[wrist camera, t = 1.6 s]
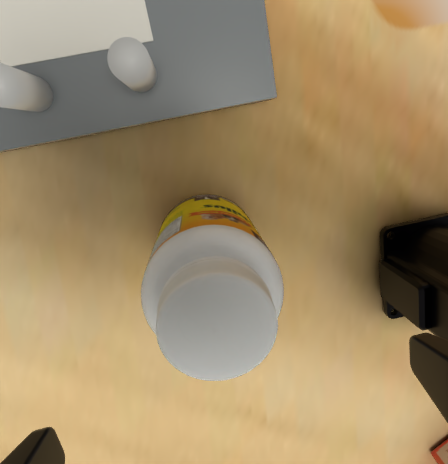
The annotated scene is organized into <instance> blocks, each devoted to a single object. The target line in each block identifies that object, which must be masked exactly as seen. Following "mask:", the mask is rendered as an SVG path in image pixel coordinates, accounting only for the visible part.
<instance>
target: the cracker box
mask: <svg viewBox="0 0 448 464" xmlns="http://www.w3.org/2000/svg"><path fill="white" fill-rule="evenodd" d="M431 454H432V456H433V457H434V459H435V460H436V461H437V463H438V464H448V439H447V440H446V441H444V442H443V443H442V444H440V445H439V446H438V447H437V448H435V449H434V450H433V451H432V452H431Z"/></svg>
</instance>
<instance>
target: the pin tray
mask: <svg viewBox="0 0 448 464" xmlns="http://www.w3.org/2000/svg"><path fill="white" fill-rule="evenodd" d="M276 97H277V93H276V86H275V78H274V71H273V63H272V55H271V48H270V40H269V33H268V25H267V18H266V10H265V2H264V0H0V152H5V151H10V150H15V149H20V148H25V147H30V146H35V145H41V144H46V143H51V142H56V141H61V140H66V139H71V138H76V137H82V136H87V135H92V134H97V133H102V132H107V131H112V130H117V129H123V128H128V127H133V126H138V125H143V124H148V123H153V122H158V121H164V120H169V119H174V118H179V117H184V116H189V115H194V114H199V113H205V112H210V111H215V110H220V109H225V108H230V107H235V106H240V105H246V104H251V103H256V102H261V101H266V100H271V99H273V98H276Z"/></svg>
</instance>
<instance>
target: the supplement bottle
mask: <svg viewBox="0 0 448 464" xmlns="http://www.w3.org/2000/svg"><path fill="white" fill-rule="evenodd" d="M283 296H284V287H283V279H282V275H281V272H280V269H279V266H278V264H277V262H276V260H275V258H274V257H273V255H272V253H271V252H270V250H269V249H268V247H267V246H266V244H265V243H264V241H263V240H262V238H261V236H260V235H259V233H258V232H257V230H256V229H255V227H254V225H253V224H252V223H251V221H250V219H249V218H248V216H247V215H246V214H245V213H244V211H243V210H242V209H241V208H240V207H239V206H237V205H236V204H235V203H233V202H232V201H230V200H228V199H226V198H223V197H220V196H215V195H198V196H194V197H191V198H188V199H186V200H184V201H182V202H181V203H179V204H178V205H176V206H175V207H174V208H173V209H172V210H171V211H170V212H169V214H168V215H167V216H166V218H165V220H164V222H163V224H162V226H161V229H160V232H159V234H158V237H157V240H156V242H155V245H154V248H153V251H152V253H151V256H150V259H149V262H148V264H147V267H146V270H145V273H144V277H143V281H142V288H141V301H142V308H143V311H144V315H145V317H146V320H147V322H148V324H149V326H150V327H151V329H152V330H153V332H154V333H155V334H156V336H157V341H158V344H159V347H160V349H161V351H162V353H163V355H164V356H165V358H166V359H167V360H168V361H169V362H170V363H171V364H172V365H173V366H174V367H175V368H176V369H178V370H179V371H181V372H182V373H184V374H186V375H188V376H191V377H194V378H196V379H201V380H208V381H221V380H228V379H232V378H235V377H239V376H241V375H243V374H245V373H247V372H249V371H251V370H252V369H253V368H255V367H256V366H257V365H259V364H260V363H261V362H262V361H263V360H264V359H265V357H266V356H267V355H268V353H269V352H270V350H271V349H272V347H273V344H274V342H275V339H276V335H277V330H278V316H279V314H280V311H281V307H282V303H283Z"/></svg>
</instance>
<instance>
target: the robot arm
mask: <svg viewBox="0 0 448 464" xmlns="http://www.w3.org/2000/svg"><path fill="white" fill-rule="evenodd" d="M389 232H391V235H390V237H388V238H387V234H388V233H389ZM380 250H381V261H380V263H379V271H380V289H381V297H382V298H383V305H384V313H385V314H386V315H387V316H388V317H389V318H391V319H395V318H399V317H403V316H405V317H406V318H407V319H409V320H410V321H411V322H412V323H413V324H415V325H416V326H417V327H418V328H420V329H421V330H429V331H431V332H432V333H433V334H434V335H432V334H429V333H422V334H418V335H414V336H412V337H411V338H410V340H409V347H410V365H411V368H412V370H413V372H414V374H415V376H416V377H417V378H418V380H419V381H420V383H421V384H422V386H423V387H424V389H425V390H426V392H427V393H428V395H429V396H430V398H431V399H432V401H433V402H434V403H435V405H436V406H437V408H438V409H439V411H440V412H441V414H442V415H443V417H444V418H445V420H446V421H447V422H448V213H446V214H441V215H437V216H432V217H428V218H423V219H419V220H414V221H409V222H405V223H400V224H396V225H391V226H387V227H384V228H383V229H382V230H381V232H380ZM393 309H394V311H393V312H391V311H392V310H393ZM435 335H436V336H435ZM0 464H65V454H64V450H63V448H62V446H61V443H60V441H59V439H58V437H57V434H56V432H55V430H54V429H53V428H52V427H46V428H42V429H38V430H35V431H33V432H32V433H31V434H29V435H28V436H27V437H26V438H25V439H24V440H23V441H22V442H21V443H20V444H19V445H18V446H17V447H16V448H15V449H14V450H13V451H12V452H11V453H10V454H9V455H8V456H7V457H6V458H5V459H4V460H3V461H2V462H1V463H0Z"/></svg>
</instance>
